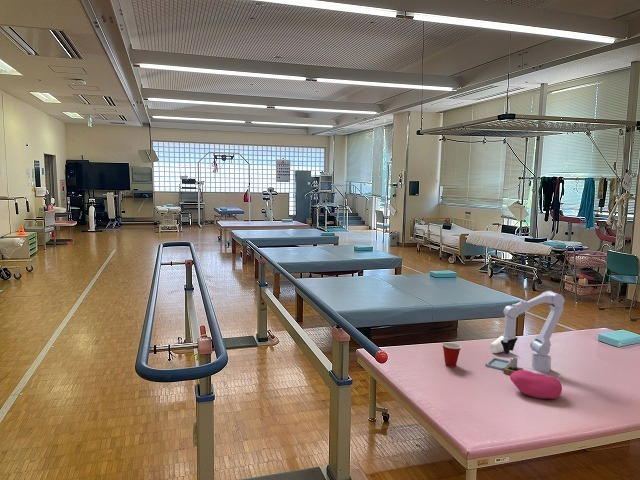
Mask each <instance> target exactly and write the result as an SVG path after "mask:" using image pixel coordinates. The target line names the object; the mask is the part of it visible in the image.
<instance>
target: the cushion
mask: <svg viewBox="0 0 640 480" xmlns="http://www.w3.org/2000/svg"><path fill="white" fill-rule="evenodd" d="M509 379H510V381H511V382H512V383H513V385H514V386H515V387H516V388H517V390H518V391H520V392H521V393H522V394H523V395H526V396H529V397H532V398H536V399H552V400H554V399H558V398H559V397H560V396H561V394H562V392H563V387H562V383H561V381H560V379H559V378H557V377H553V376H549V375H546V374H543V373H538V372H532V371H529V370H525V369H523V370H518V371H515V372H513V373H512V374H511V375H509Z"/></svg>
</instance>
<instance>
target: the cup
mask: <svg viewBox="0 0 640 480" xmlns="http://www.w3.org/2000/svg"><path fill="white" fill-rule="evenodd" d="M503 339H504V336H502V335H500V336H499V337H498V338H496V339H495V340H494V341H493V342H491V343H490V344H489V350H490V352H492V353H493V354H499V353H504V349H503V346H502V343H501V340H503Z"/></svg>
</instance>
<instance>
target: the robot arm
mask: <svg viewBox="0 0 640 480" xmlns="http://www.w3.org/2000/svg"><path fill="white" fill-rule="evenodd" d="M565 301H566V299H565V298H564V296H563V295H562V294H560V293H556V292H554V291H552V290H546V291H544V292H542V293H541V294H539V295H537V296H536V297H533V298H531V299H529V300H522V299H521V300H519V302H517V303H512V305H506V306H505V307H504V309H503V310H502V312H503V314H504V328H503V329H504V331H503V333H502V334H501V336H504V339H503V340H501V343H502V346H503V349H504V352H503V354H505V355H509V353H510V351H512V352H513V351H514V349H515V345H516V343H517V340H518V339H519V338H518V337H517V336H516V333H517V332H516V329H517V328H516V327H517V318H518V317H519V315H520V314H524V313H526V312H528V311H530V309H531V308H533V307H534V306H537V305H539V304H543V303H545V304H548V306H549V307H550V312H549V314H548V316H547V317H546V320H545V322H544V323H543V326H542V328H541V330H540V333H539V334H538V335H535V337H534V338H533V340H531V342H530V345H529V347H530V349H531V352H532V353H531V365H530V367H528V369H529V370H532V371H537V372H541V373H546V374H548V373H549V372H550V371H551V367H552V356H551V355H549V353H550V350H551V346H552V344H551V341H550V340H551V337H552V335H553V333H554V331H555V329H556V327H557V324H558V323H559V320H560V318H561V316H562V314H563V311H564V304H565Z"/></svg>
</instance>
